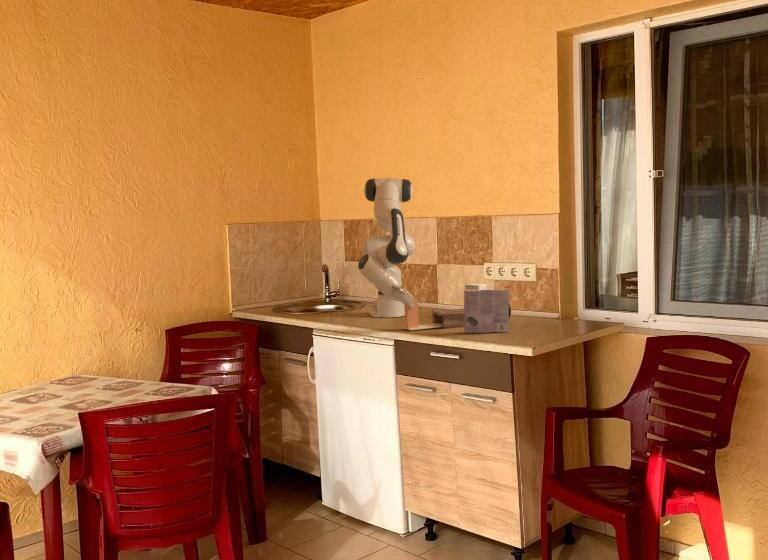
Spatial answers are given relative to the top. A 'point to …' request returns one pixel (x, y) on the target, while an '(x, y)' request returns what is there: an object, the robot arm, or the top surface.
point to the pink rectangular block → (416, 318)
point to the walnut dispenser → (449, 318)
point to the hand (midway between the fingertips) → (411, 306)
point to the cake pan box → (486, 311)
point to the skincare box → (475, 286)
